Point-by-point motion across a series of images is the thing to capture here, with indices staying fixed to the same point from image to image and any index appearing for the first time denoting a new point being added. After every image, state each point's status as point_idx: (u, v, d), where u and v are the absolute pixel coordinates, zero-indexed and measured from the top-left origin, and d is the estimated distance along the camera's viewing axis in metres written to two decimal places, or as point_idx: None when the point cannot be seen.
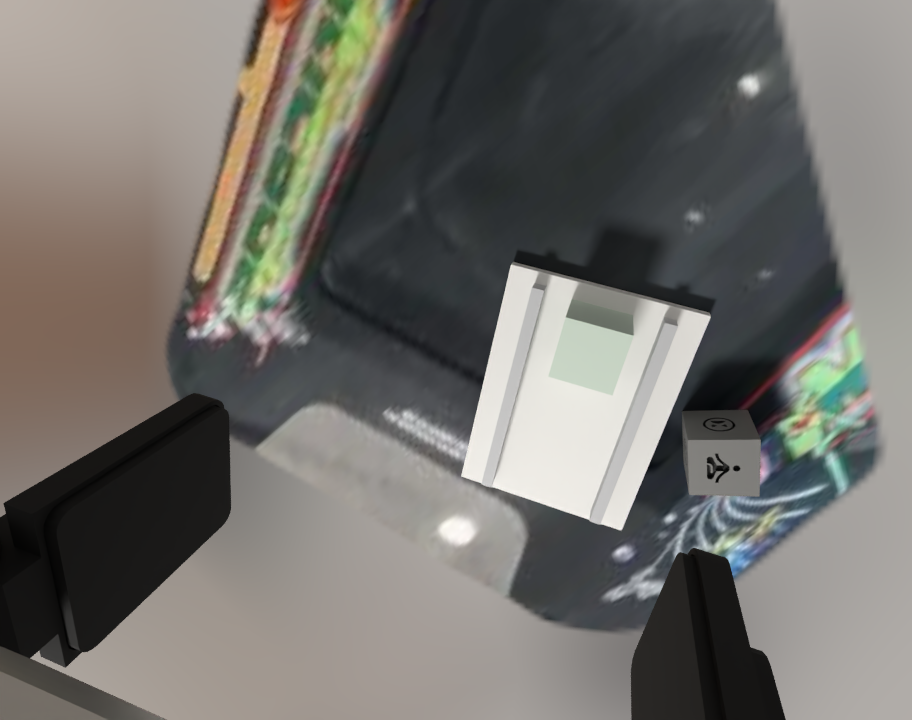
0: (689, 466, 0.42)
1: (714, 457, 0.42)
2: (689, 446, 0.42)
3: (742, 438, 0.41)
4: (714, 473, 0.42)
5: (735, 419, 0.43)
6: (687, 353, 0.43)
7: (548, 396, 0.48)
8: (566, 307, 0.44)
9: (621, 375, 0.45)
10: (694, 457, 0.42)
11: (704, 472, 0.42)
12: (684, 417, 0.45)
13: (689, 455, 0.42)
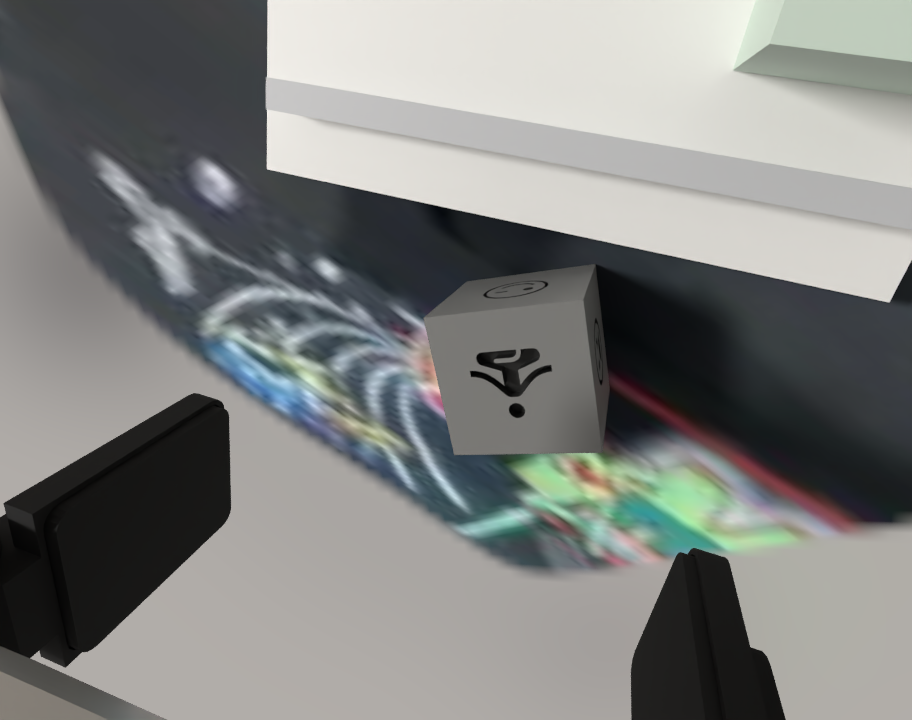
0: (503, 311, 0.16)
1: (539, 364, 0.17)
2: (563, 305, 0.16)
3: (598, 417, 0.17)
4: (491, 366, 0.17)
5: (604, 378, 0.20)
6: (778, 260, 0.17)
7: None
8: None
9: (713, 96, 0.16)
10: (532, 320, 0.16)
11: (492, 345, 0.17)
12: (593, 272, 0.19)
13: (536, 308, 0.16)
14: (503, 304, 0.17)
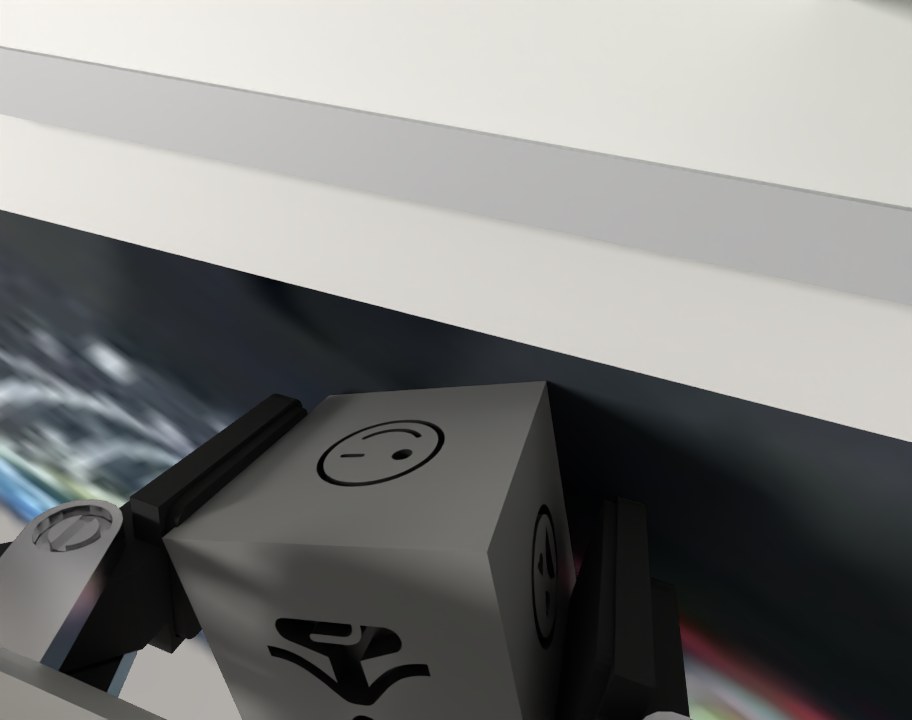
0: (315, 549, 0.07)
1: (402, 658, 0.07)
2: (443, 557, 0.06)
3: None
4: (311, 638, 0.08)
5: (561, 599, 0.10)
6: (907, 406, 0.08)
7: None
8: None
9: (778, 55, 0.07)
10: (377, 576, 0.07)
11: (304, 610, 0.08)
12: (536, 412, 0.10)
13: (383, 554, 0.07)
14: (326, 519, 0.08)
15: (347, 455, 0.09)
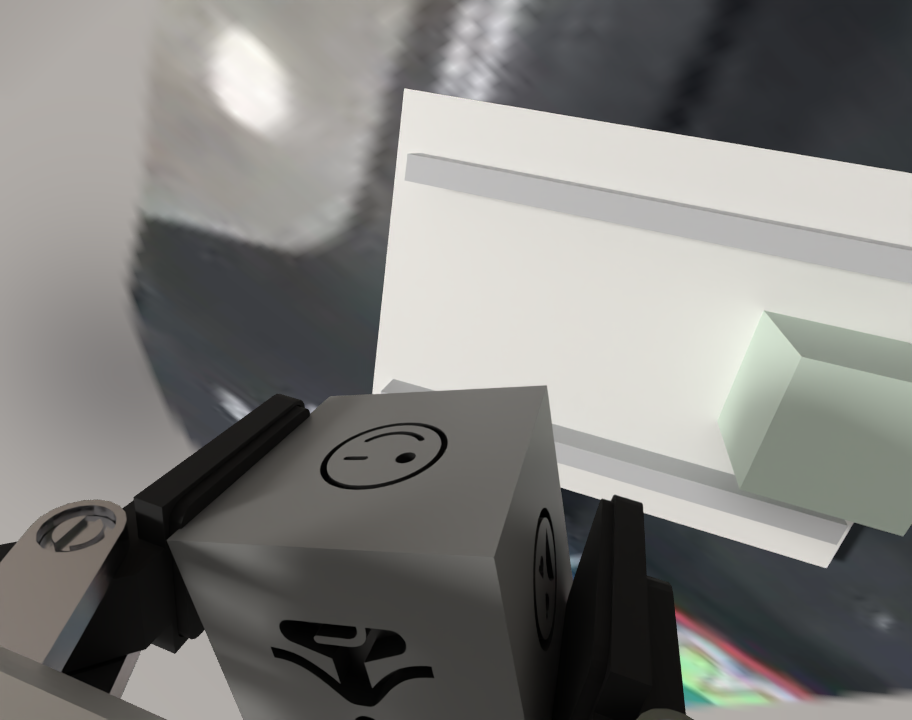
0: (322, 553, 0.07)
1: (406, 661, 0.07)
2: (450, 562, 0.07)
3: None
4: (316, 639, 0.08)
5: (560, 601, 0.11)
6: (750, 534, 0.24)
7: (649, 296, 0.22)
8: (886, 331, 0.20)
9: (704, 433, 0.23)
10: (384, 579, 0.07)
11: (308, 612, 0.08)
12: (537, 417, 0.10)
13: (390, 558, 0.07)
14: (332, 522, 0.08)
15: (350, 458, 0.09)
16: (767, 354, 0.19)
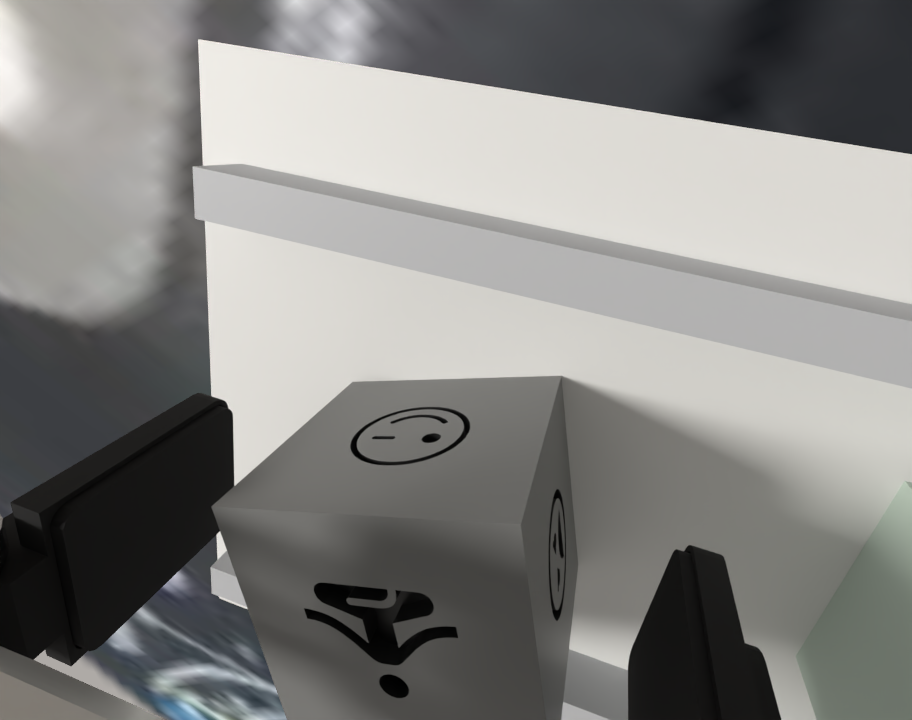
0: (359, 519, 0.08)
1: (433, 621, 0.08)
2: (480, 529, 0.07)
3: None
4: (346, 602, 0.09)
5: (568, 578, 0.11)
6: None
7: (673, 438, 0.11)
8: None
9: (769, 672, 0.13)
10: (416, 545, 0.08)
11: (343, 575, 0.08)
12: (554, 403, 0.10)
13: (424, 525, 0.07)
14: (367, 493, 0.08)
15: (378, 437, 0.10)
16: None
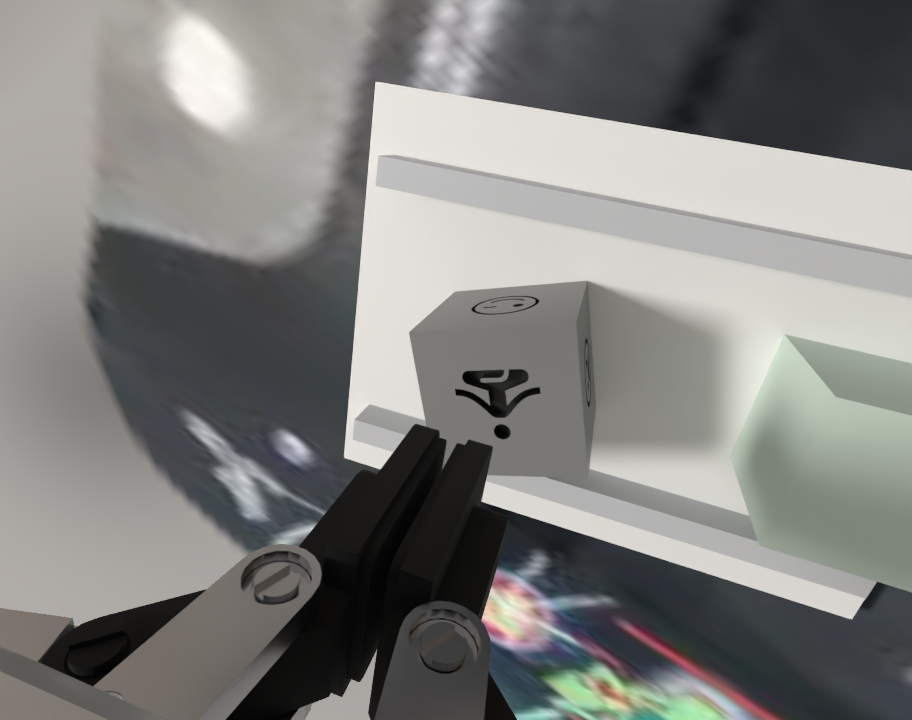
0: (493, 329, 0.16)
1: (527, 385, 0.16)
2: (555, 327, 0.15)
3: (586, 442, 0.16)
4: (478, 385, 0.17)
5: (591, 399, 0.19)
6: (766, 580, 0.22)
7: (654, 317, 0.19)
8: None
9: (714, 470, 0.21)
10: (522, 340, 0.15)
11: (480, 364, 0.16)
12: (585, 290, 0.18)
13: (527, 328, 0.15)
14: (492, 322, 0.16)
15: (486, 307, 0.18)
16: (790, 387, 0.16)
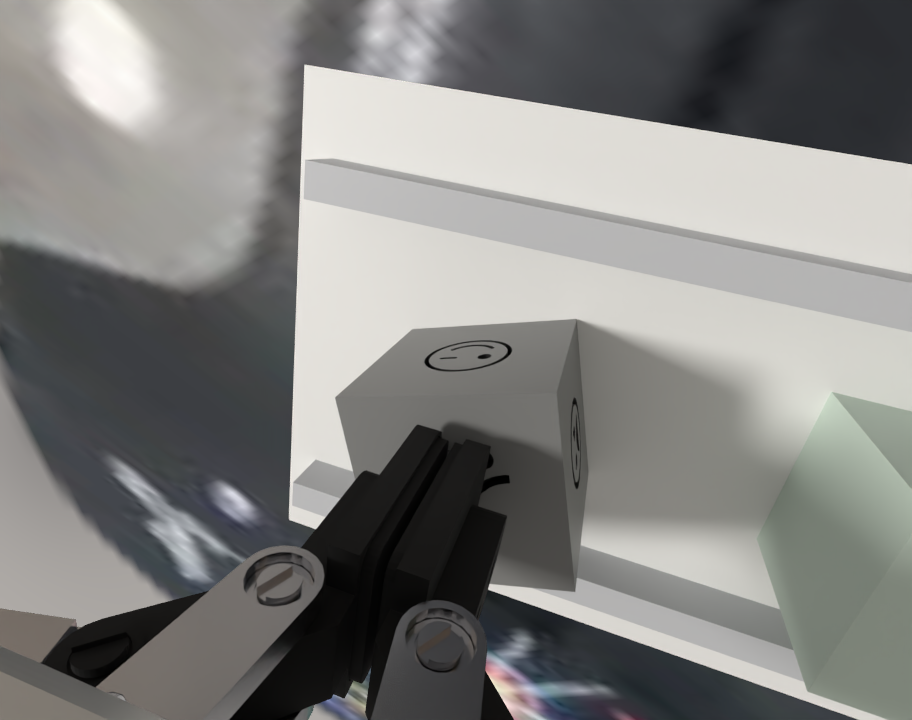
0: (444, 398, 0.11)
1: (492, 472, 0.12)
2: (528, 398, 0.11)
3: (572, 545, 0.12)
4: None
5: (582, 470, 0.15)
6: (799, 685, 0.17)
7: (661, 366, 0.15)
8: None
9: (737, 553, 0.16)
10: (484, 414, 0.11)
11: None
12: (573, 335, 0.14)
13: (490, 398, 0.11)
14: (446, 385, 0.12)
15: (444, 358, 0.14)
16: (846, 471, 0.12)
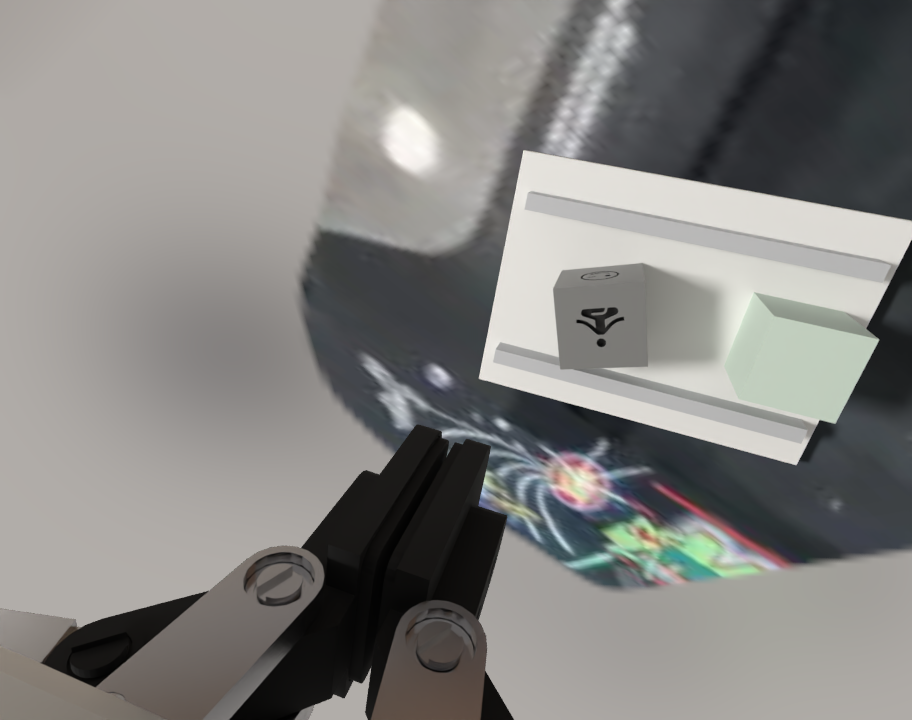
0: (600, 286, 0.30)
1: (617, 316, 0.30)
2: (634, 284, 0.30)
3: None
4: (589, 317, 0.31)
5: None
6: (745, 443, 0.36)
7: (680, 283, 0.34)
8: (830, 304, 0.32)
9: (715, 374, 0.35)
10: (616, 291, 0.30)
11: (591, 305, 0.31)
12: None
13: (619, 285, 0.30)
14: (598, 283, 0.31)
15: (589, 277, 0.32)
16: (755, 318, 0.31)
